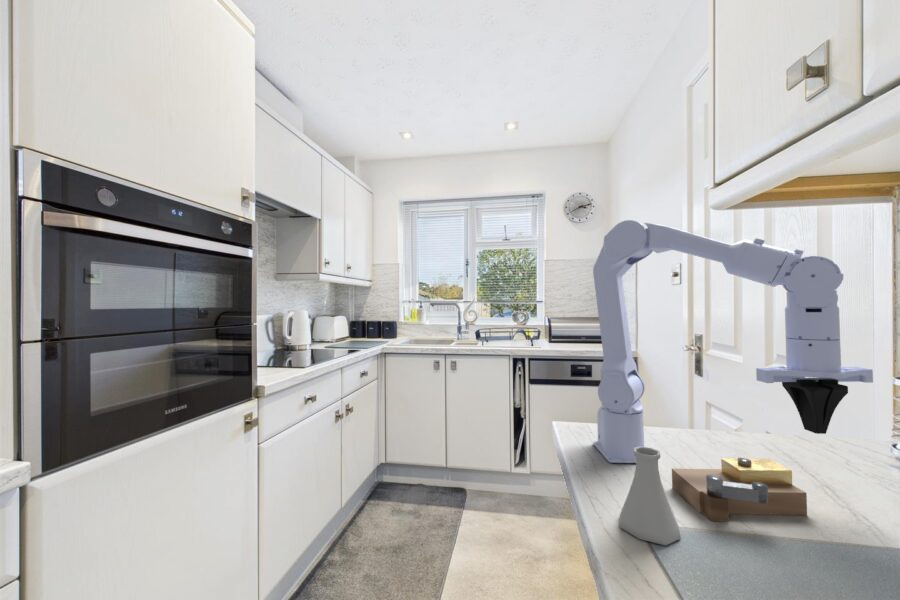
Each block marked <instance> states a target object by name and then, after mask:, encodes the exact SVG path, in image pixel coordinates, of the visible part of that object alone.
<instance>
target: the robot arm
mask: <svg viewBox="0 0 900 600" xmlns="http://www.w3.org/2000/svg"><path fill="white" fill-rule="evenodd" d="M643 224H644V225H646V227H647V228H646V227H645V226H644V225H643ZM643 224H642V223H641V222H639V221H637V220H634V219H633V220H631V219H628V220H623V221H620V222H618V223H617V224H615V225H614V226H613V227H612V229H610V230H609V232H607V234H606V235H604V236H603V243H602V244H603V245H602V247H601V250H600V252H599V254H598V256H597V259H596V261H595V263H594V266H593V268H592V269H593V271H592V273H593V274H592V275H593V282H594V283H593V284H594V288H595V289H594V290H595V297H596V298H595V299H596V306H597V314H598V322H599V330H600V331H599V332H600V338H601V346H602V355H603V361H602V365H601V368H600V381H599V382H600V383H599V385H598V387H597V396H598V399H599V401H600V402H601V406H600V407H599V408H598V411H597V416H596V417H597V418H596V419H597V440H596V441H595V440H594V441H593V442H592V444H593V445H594V446H595V447H596V448H597V450H598V451H599V453H601V455H602V456H603V457H604V458H605V459H606V460H607V462H608V463H610V464H611V463H612V464H614V463H615V464H636V456H634V448H635V447H639V446H643V447H645V425H644V423H645V422H644V420H645V419H644V407H643V406H642V403H641V402H640V399H641V398H642V397H643V395H644V393H645V389H646V387H645V383H644V380H643V379H642V377H641V375H640V374H639V371H638V368H637V363H636V361H635V359H634V357H633V352H632V344H631V340H630V339H631V337H630V335H631V334H630V330H629V329H630V328H629V321H628V314H627V306H626V298H625V297H626V296H625V289H624V284H623V283H624V282H623V277H624V275H625V274H626V273H627V272H628V271H629V270H630V268H632V267H633V266H634V265H635V264H636V263H638V262H639V263H640V261H642V260H644V259H646V258H647V257H649V256H650V255H651V254H652V253H653V252H654V253H656V254H661V253H665V252H669V251H676V252H678V253H679V252H680V253H683V254H687V255H692V256H695V257H700V258H702V259H706V260H710V261H714V262H718V263H721V264H722V265H723V267H724V270H725V271H726V273H727V274H730V275H733V276H737V277H739V278H743V279H747V280H749V281H753V282H756V283H759V284H763V285H766V286H770V287H777V286H782V287H783V288H784V289H785V291H786V306H785V307H784V324H785V325H784V326H785V328H784V329H785V355H786V356H785V357H786V359H785V360H786V362H785V363H786V365H780V366H779V365H778V366H769V367H756V368H755V369H756V371H755V372H756V373H755V374H756V382H762V383H766V384H774V383H781V385H782V387H783V388H784V389H785V391H786V392H787V394H788V396H790V398H791V400H792V401H793V404H794V405H795V407H796V409H797V413H798V414H799V417H800V420H801V422H802V423H801V424H802V427H803V429H804V431H808V432H811V433H814V434H817V435H818V434H819V435H821V434H825V435H826V434H827V431H828V429H829V425H830V422H831V420H832V418H833V414H834V412H835V411H836V409H837V407H838V406H839V404H840V402H841V401H842V400H843V399H844V398H845V396H847V395H848V393H849V386H848V385H844V384H841V383H843V382H845V383H846V382H852V383H853V382H855V383H856V382H858V383H859V382H861V383H867V384H868V383H869V384H870V383H871V384H872V383H874V376H873V375H874V373H873V369H872V368H865V367H861V366H842V355H841V328H840V327H841V326H840V325H841V323H840V321H841V319H840V307H839V306H838V301H839V295H838V292H837V291H838V290H837V289H838V288H839V287H840V285H841V284H842V283H843V281H844V275H845V274H843V273H842V272H841V269H840V267H839V266H838V264H836V263H835V262H834V261H833V260H831V259H830V258H827V257H823V256H819V255H811V256H804V257H802V256H803V254H804V250H802V249H797V248H795V249H794V250H789V249H785V248H780V247H776V246H771V245H769V244H765V239H763V238H758V237H755V238H754V239H753V240H748V239H743V240H740V241H737V242H736V243H732V244H729V243H727V242H722V241H719V240H716V239H713V238H709V237H705V236H703V235H699V234H695V233H693V232H692V233H691V232H688V231H685V230H682V229H678V228H675V227H671V226H667V225H662V224H658V223H657V224H656V223H652V222H651V223H650V222H643Z"/></svg>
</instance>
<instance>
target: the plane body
mask: <svg viewBox="0 0 900 600" xmlns="http://www.w3.org/2000/svg"><path fill="white" fill-rule="evenodd" d="M707 475H715V476H719V477H721V478H722V479H723V481H725V482H734V483H738V482H737V481H735V480H734V479H732V478H731V477H729V476H728V475H726V474H725V473H723V472H722V468H671V487H672V489H673V490H674V491H675V492H676V493H677V494H678V495H679V496H680V497H682V498H683V499H684V500H685V501H686V502H687V503H688V504H689V505H690V506H692V508H694V510H696V511H697V512H698V513H699V514H703V515H704V516H705V517H706V518H707V519H709V520H710V521H711V522H729V521H730V520H729V519H730V517H729V515H735V514H736V515H778V516H779V515H780V516H781V515H782V516H783V515H786V516H787V515H790V516H791V515H792V516H794V515H795V516H798V515H799V516H802V515H803V516H808V503H807V502H808V499H807V498H808V497H807V492H806V491H804V490H802V489H800V488H799V487H797V486H795V485H793V484H792V485H769V484H765V485H767V486H768V504H767V503H766V504H764V503H759V502H752V501H744V500H737V499H729V498H717V497H713V496H710V495H709V494H707V481H706V476H707ZM750 485H752V484H750Z"/></svg>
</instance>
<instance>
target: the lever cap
mask: <svg viewBox="0 0 900 600" xmlns="http://www.w3.org/2000/svg"><path fill="white" fill-rule="evenodd" d="M720 460H721V469H722V472H723V473H725V474H726V475H728V476H729V477H731V478H732V479H734V480H735V481H737V482H738V483H742V484H752V482H760V483H763V484H769V485H793V470H791V469H789V468H787V467H786V466H784V465H783V464H780V463H778V462H777V461H775V460H773V459H770V458H744V457H737V458H734V457H733V458H731V457H730V458H727V457H726V458H724V457H723V458H721V459H720Z"/></svg>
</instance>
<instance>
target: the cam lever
mask: <svg viewBox="0 0 900 600" xmlns="http://www.w3.org/2000/svg"><path fill="white" fill-rule="evenodd" d="M706 481H707V494H709V495H710V496H713V497H717V498H729V499H737V500H744V501H752V502H759V503H764V504H766V503H767V504H768V486H767V485H765V484H763V483H760V482H752V485H750V484H742V483H734V482H725V481H723V479H722V478H721V477H719V476H715V475H707V476H706Z"/></svg>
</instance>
